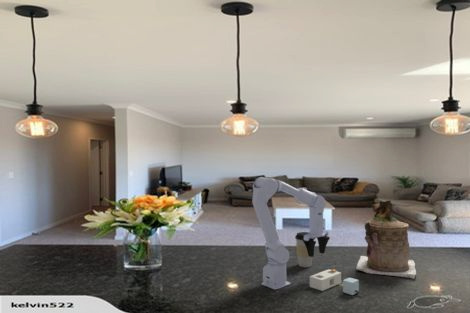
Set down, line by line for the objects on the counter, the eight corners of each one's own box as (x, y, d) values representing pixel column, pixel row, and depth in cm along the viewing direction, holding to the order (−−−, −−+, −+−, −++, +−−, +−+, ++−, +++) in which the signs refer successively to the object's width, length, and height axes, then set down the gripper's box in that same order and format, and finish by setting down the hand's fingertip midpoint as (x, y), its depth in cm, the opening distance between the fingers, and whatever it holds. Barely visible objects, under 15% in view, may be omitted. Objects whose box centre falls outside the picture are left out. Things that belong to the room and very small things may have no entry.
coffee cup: (292, 266, 172) (292, 234, 171) (298, 261, 180) (298, 231, 180) (312, 269, 167) (312, 236, 167) (317, 264, 175) (317, 232, 175)
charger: (337, 290, 141) (337, 278, 141) (344, 287, 144) (344, 275, 144) (359, 297, 134) (359, 285, 134) (366, 294, 137) (366, 282, 137)
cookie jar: (415, 263, 174) (414, 197, 174) (416, 280, 152) (416, 203, 152) (360, 258, 185) (360, 194, 184) (354, 272, 162) (354, 201, 162)
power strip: (309, 286, 146) (309, 274, 146) (335, 276, 158) (335, 265, 158) (322, 290, 142) (322, 278, 141) (348, 280, 153) (348, 268, 153)
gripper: (313, 226, 148) (313, 260, 148) (334, 222, 158) (334, 253, 158) (299, 224, 154) (299, 256, 154) (320, 219, 163) (320, 250, 163)
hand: (316, 254), depth 156 cm, fingers open, 7 cm apart
